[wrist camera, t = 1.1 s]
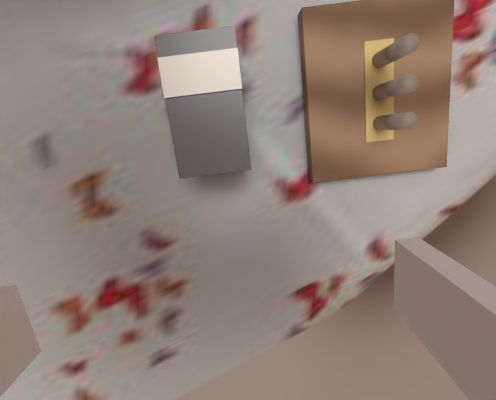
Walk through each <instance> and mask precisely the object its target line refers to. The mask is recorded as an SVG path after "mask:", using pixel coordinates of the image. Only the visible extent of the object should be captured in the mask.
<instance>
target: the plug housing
mask: <svg viewBox="0 0 496 400" xmlns="http://www.w3.org/2000/svg"><path fill="white" fill-rule="evenodd" d="M155 42H156V47H157V53H158V58H157V59H158V65H159V71H160V76H161V82H162V88H163V93H164V98H165V99H166V104H167V110H168V116H169V121H170V127H171V133H172V138H173V144H174V150H175V156H176V161H177V167H178V173H179V178H188V177H197V176H205V175H213V174H222V173H230V172H238V171H247V170H251V165H250V156H249V147H248V139H247V130H246V121H245V113H244V104H243V95H242V83H241V75H240V66H239V57H238V49H237V43H236V34H235V26H229V27H221V28H213V29H205V30H197V31H189V32H181V33H173V34H164V35H156V36H155Z"/></svg>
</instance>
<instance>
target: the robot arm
mask: <svg viewBox="0 0 496 400" xmlns="http://www.w3.org/2000/svg"><path fill="white" fill-rule="evenodd" d="M394 275H395V276H394V310H395V311H396V312H397V313H398V315H399V316H400V317H401V318H402V319H403V321H404V322H405V323H406V324H407V325H408V327H409V328H410V329H411V330H412V331H413V333H414V334H415V335H416V336H417V338H418V339H419V340H420V341H421V342H422V344H423V345H424V346H425V347H426V348H427V350H428V351H429V352H430V353H431V355H432V356H433V357H434V358H435V359H436V361H437V362H438V363H439V364H440V365H441V367H442V368H443V369H444V370H445V371H446V373H447V374H448V375H449V376H450V377H451V379H452V380H453V381H454V382H455V383H456V385H457V386H458V387H459V388H460V389H461V391H462V392H463V393H464V394H465V396H466V397H467V398H468V399H469V400H496V287H495V286H494V285H492V284H491V283H489V282H487V281H486V280H484V279H482V278H481V277H480V276H478V275H476V274H475V273H473V272H472V271H470V270H468V269H467V268H465V267H464V266H462V265H461V264H459V263H457V262H456V261H454V260H453V259H451V258H450V257H448V256H446V255H445V254H443V253H442V252H440V251H439V250H437V249H435V248H434V247H432V246H431V245H429V244H428V243H426V242H424V241H423V240H421V239H420V238H418V237H414V238H406V239H397V240H395V273H394ZM40 352H41V350H40V347H39V344H38V342H37V339H36V336H35V334H34V331H33V328H32V326H31V323H30V321H29V318H28V315H27V313H26V310H25V307H24V305H23V302H22V299H21V297H20V294H19V291H18V289H17V286H9V287H1V288H0V397H1V395H2V394H3V393H4V392H5V391H6V390H7V389H8V388H9V386H10V385H11V384H12V383H13V382H14V381H15V380H16V379H17V377H18V376H19V375H20V374H21V373H22V372H23V371H24V370H25V368H26V367H27V366H28V365H29V364H30V363H31V362H32V361H33V359H34V358H35V357H36V356H37V355H38V354H39V353H40Z"/></svg>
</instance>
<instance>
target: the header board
mask: <svg viewBox="0 0 496 400" xmlns="http://www.w3.org/2000/svg"><path fill="white" fill-rule="evenodd" d="M453 15H454V0H360V1H352V2H344V3H336V4H328V5H320V6H312V7H304V8H302V9H301V11H300V13H299V15H298V20H299V34H300V49H301V64H302V79H303V94H304V108H305V123H306V138H307V153H308V167H309V180H310V181H312V182H313V183H315V182H323V181H332V180H340V179H348V178H357V177H365V176H373V175H382V174H390V173H399V172H407V171H415V170H424V169H432V168H441V167H447V145H448V124H449V102H450V80H451V59H452V37H453Z"/></svg>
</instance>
